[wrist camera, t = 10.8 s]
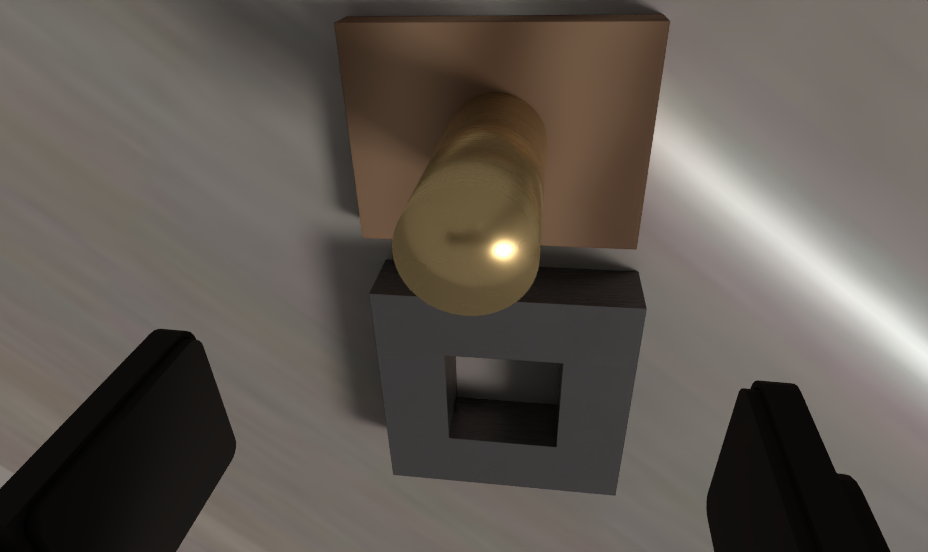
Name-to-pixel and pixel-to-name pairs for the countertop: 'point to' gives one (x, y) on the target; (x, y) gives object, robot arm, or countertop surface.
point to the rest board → (520, 74)
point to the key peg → (477, 210)
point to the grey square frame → (501, 422)
